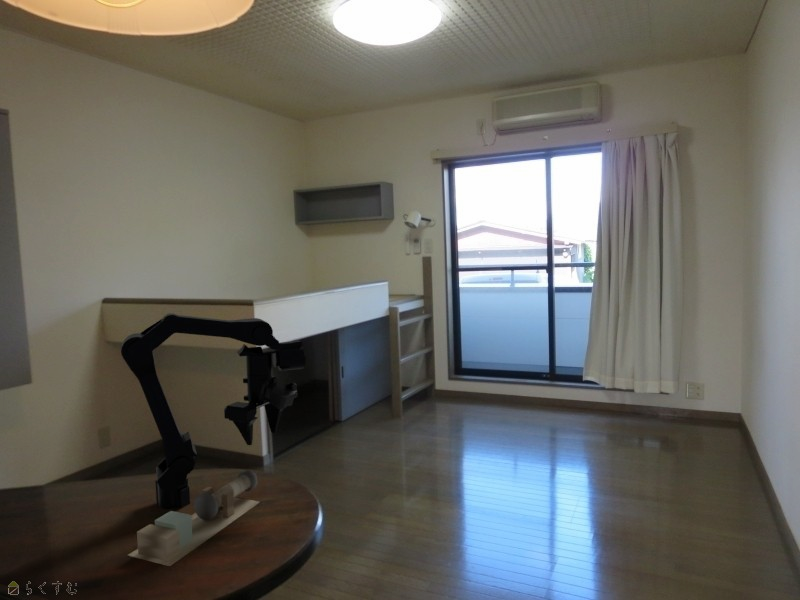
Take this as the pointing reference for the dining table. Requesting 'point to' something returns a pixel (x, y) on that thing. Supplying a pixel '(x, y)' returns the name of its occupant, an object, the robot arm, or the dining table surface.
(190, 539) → the block
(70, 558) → the dining table surface
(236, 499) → the bench
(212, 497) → the shaft
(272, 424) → the robot arm
